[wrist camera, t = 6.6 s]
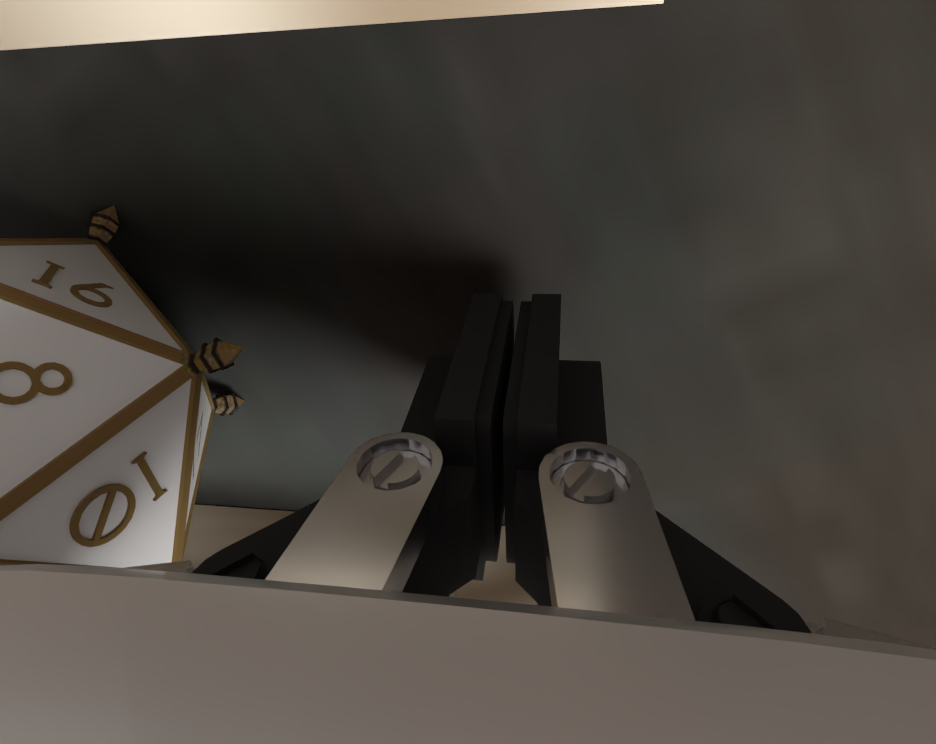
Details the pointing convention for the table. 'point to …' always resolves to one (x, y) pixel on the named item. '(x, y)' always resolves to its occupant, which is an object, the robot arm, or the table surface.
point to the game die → (96, 409)
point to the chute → (246, 11)
